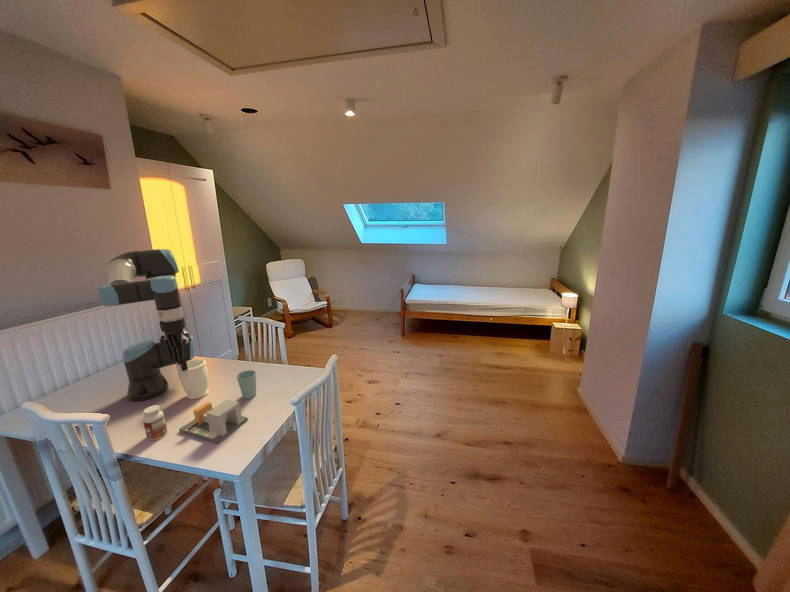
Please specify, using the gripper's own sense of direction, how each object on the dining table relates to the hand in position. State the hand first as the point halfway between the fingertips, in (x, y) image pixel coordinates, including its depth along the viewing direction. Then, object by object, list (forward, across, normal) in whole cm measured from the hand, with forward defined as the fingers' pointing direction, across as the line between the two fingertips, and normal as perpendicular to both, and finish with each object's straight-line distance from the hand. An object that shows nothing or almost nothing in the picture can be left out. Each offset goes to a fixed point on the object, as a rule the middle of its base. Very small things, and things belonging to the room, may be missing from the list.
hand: (184, 377), depth 122 cm
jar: (+19, -15, +14) cm, 28 cm away
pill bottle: (+19, -4, -11) cm, 22 cm away
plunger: (+17, +11, -2) cm, 20 cm away
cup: (+19, +8, +21) cm, 29 cm away
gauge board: (+18, +11, 0) cm, 21 cm away
